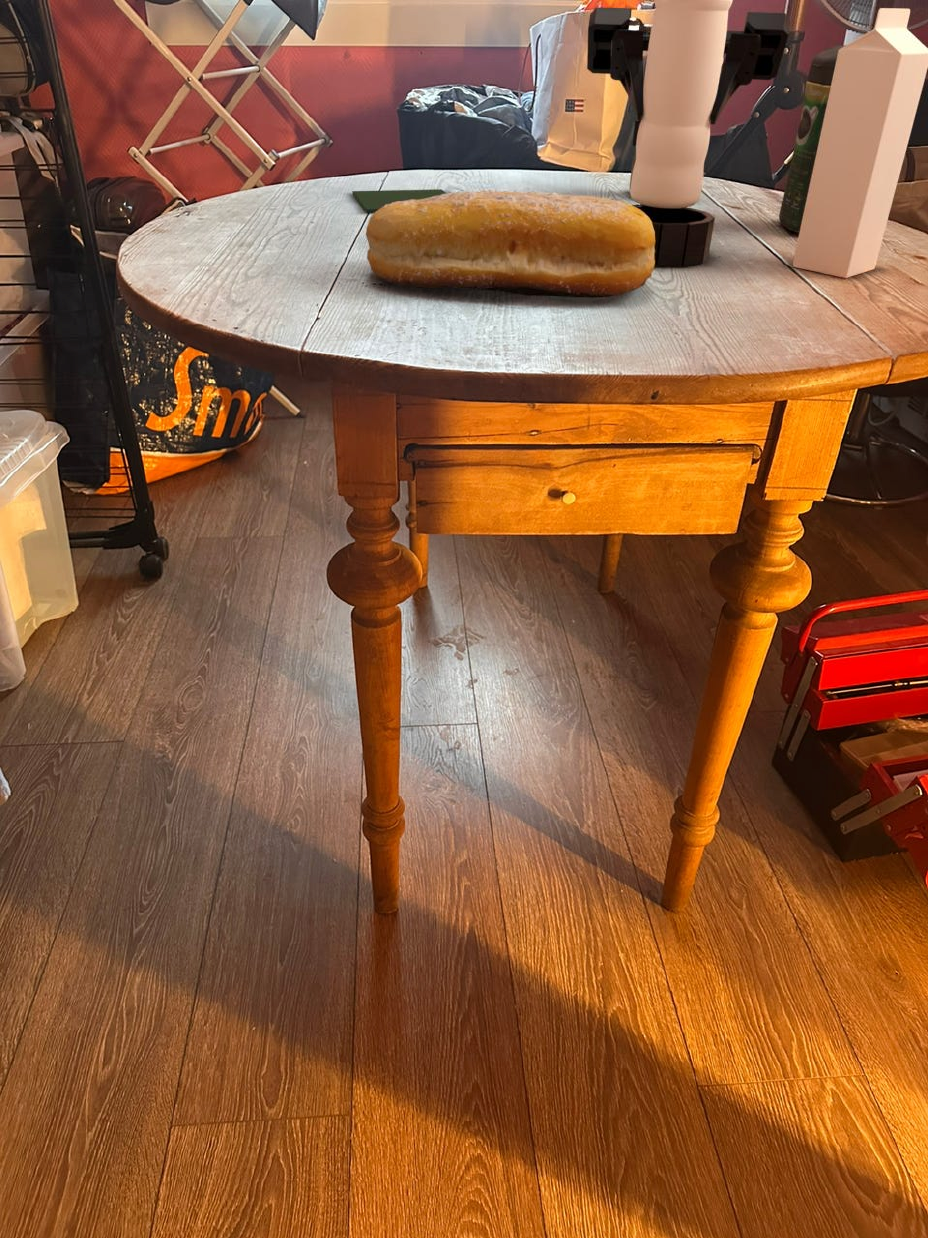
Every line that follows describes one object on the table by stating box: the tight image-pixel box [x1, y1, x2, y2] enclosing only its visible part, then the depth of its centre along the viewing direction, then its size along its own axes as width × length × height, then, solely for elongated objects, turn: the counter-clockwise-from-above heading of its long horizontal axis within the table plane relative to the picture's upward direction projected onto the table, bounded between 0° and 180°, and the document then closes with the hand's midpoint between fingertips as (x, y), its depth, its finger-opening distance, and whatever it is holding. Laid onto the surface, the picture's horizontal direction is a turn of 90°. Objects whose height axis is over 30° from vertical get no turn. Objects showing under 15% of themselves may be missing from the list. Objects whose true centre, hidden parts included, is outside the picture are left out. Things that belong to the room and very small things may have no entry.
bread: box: [365, 189, 655, 299], centre depth 83 cm, size 13×26×8 cm, turn 84°
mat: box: [352, 188, 448, 214], centre depth 117 cm, size 12×12×1 cm
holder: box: [631, 204, 716, 268], centre depth 95 cm, size 10×10×4 cm
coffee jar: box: [778, 44, 847, 234], centre depth 103 cm, size 10×8×19 cm
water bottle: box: [629, 0, 734, 208], centre depth 86 cm, size 7×7×25 cm
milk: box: [792, 7, 928, 279], centre depth 87 cm, size 6×6×22 cm
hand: (675, 119), depth 88 cm, fingers closed on water bottle, 7 cm apart
